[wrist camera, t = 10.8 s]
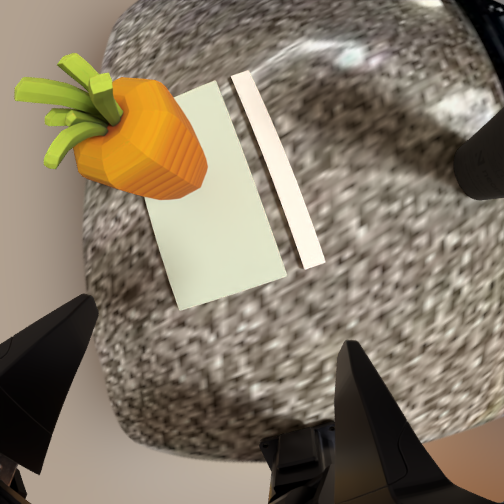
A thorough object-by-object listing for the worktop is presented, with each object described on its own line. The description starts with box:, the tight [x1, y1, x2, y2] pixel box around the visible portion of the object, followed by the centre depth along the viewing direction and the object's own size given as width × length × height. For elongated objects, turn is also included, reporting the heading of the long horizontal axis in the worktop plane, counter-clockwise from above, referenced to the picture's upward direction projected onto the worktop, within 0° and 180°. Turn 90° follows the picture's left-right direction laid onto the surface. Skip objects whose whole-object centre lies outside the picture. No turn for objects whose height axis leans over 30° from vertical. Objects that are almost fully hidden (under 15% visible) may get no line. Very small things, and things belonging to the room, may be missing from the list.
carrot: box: [14, 53, 208, 200], centre depth 13 cm, size 5×5×15 cm
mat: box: [145, 80, 287, 311], centre depth 20 cm, size 16×8×1 cm, turn 19°
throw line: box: [231, 70, 325, 269], centre depth 20 cm, size 16×2×1 cm, turn 19°
